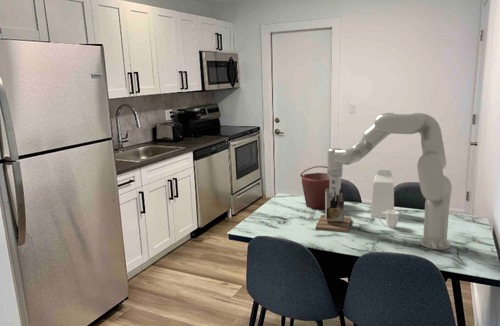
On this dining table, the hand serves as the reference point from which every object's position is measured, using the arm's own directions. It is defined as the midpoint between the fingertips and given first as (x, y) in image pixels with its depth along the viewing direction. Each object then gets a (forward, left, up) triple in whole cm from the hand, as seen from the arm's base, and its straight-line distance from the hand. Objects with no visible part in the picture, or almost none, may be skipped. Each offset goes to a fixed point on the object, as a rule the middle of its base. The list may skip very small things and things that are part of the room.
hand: (334, 205), depth 199 cm
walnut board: (0, 0, -10) cm, 10 cm away
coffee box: (0, 0, -8) cm, 8 cm away
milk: (+24, -24, -10) cm, 35 cm away
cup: (+4, -27, -10) cm, 29 cm away
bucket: (+32, +12, -10) cm, 36 cm away
